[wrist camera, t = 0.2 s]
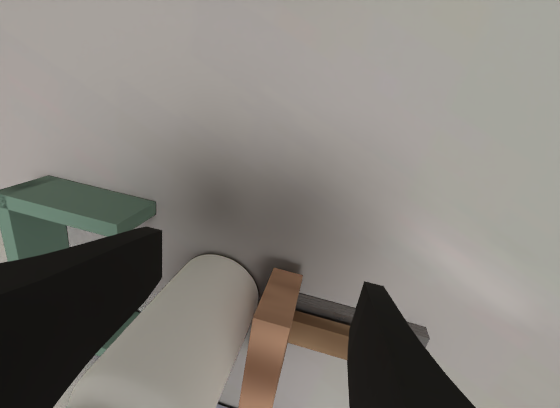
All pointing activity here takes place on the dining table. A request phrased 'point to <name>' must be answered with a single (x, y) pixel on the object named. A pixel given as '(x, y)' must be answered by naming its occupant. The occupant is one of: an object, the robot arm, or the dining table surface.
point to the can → (176, 342)
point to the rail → (342, 314)
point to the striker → (283, 338)
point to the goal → (65, 218)
